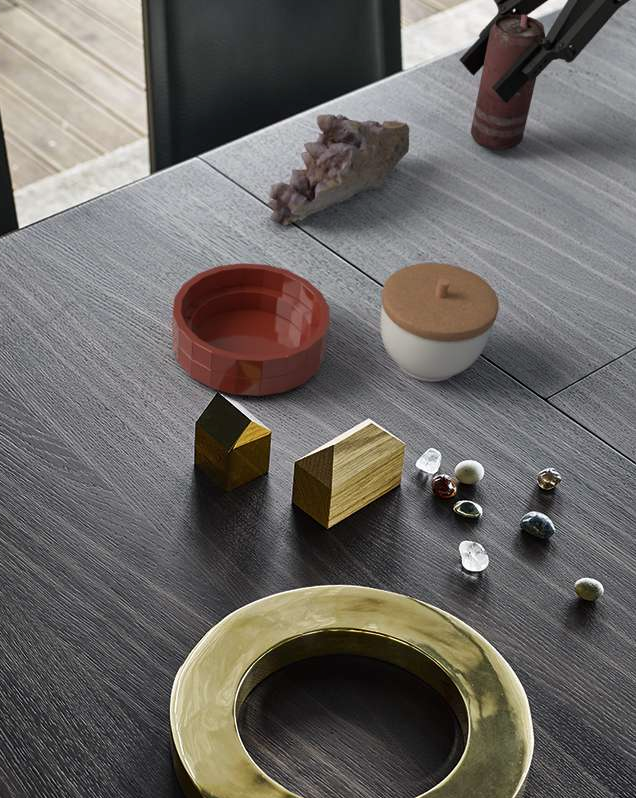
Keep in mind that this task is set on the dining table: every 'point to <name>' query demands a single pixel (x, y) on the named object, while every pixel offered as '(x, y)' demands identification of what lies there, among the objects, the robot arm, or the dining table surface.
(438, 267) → the trinket box
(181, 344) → the bowl
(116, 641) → the dining table surface
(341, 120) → the mineral specimen
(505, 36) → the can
